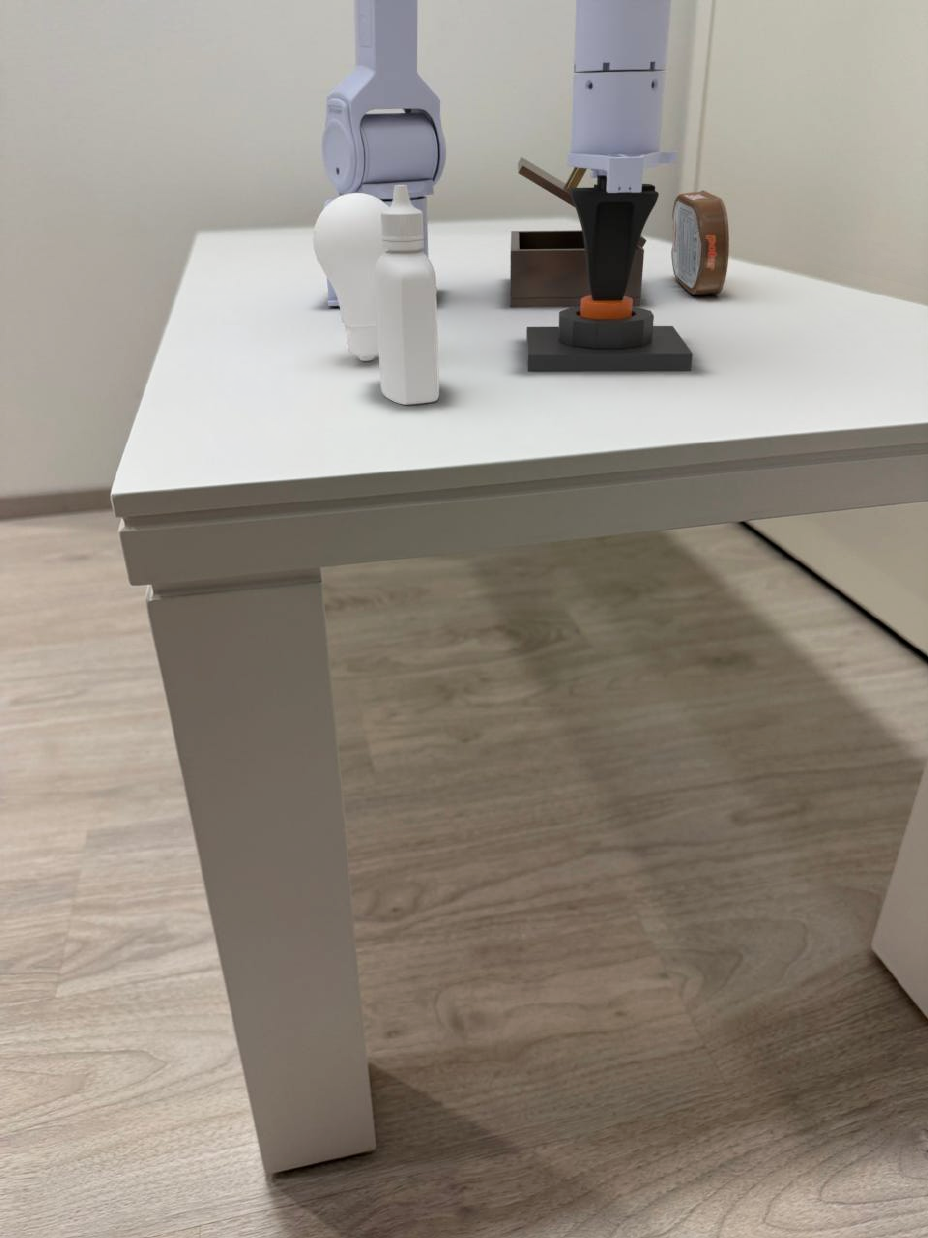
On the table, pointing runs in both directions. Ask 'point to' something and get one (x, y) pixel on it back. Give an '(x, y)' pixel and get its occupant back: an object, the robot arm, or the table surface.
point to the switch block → (606, 345)
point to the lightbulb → (353, 264)
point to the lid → (556, 183)
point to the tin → (700, 242)
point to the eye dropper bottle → (406, 307)
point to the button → (606, 308)
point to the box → (557, 270)
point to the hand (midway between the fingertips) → (606, 298)
